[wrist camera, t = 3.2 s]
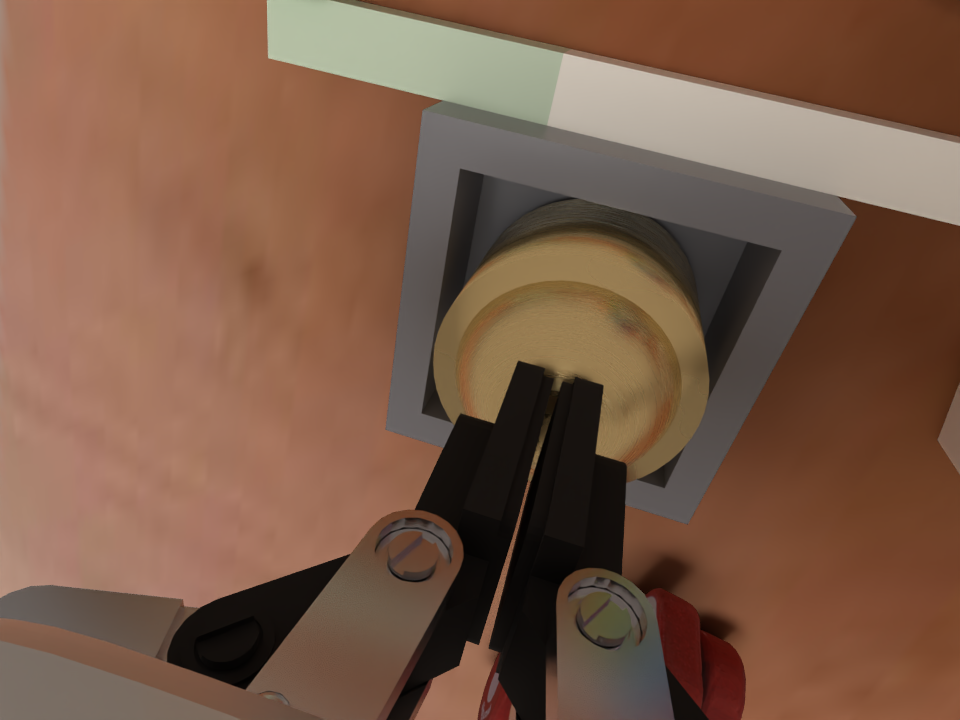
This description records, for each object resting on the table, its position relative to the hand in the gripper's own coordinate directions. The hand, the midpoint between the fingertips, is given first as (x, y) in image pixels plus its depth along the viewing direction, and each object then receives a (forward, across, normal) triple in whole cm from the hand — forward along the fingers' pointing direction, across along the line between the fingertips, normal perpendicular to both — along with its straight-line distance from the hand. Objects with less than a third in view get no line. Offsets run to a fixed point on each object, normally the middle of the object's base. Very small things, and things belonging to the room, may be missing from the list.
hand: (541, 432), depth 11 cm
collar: (+7, 0, 0) cm, 7 cm away
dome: (+6, 0, 0) cm, 6 cm away
